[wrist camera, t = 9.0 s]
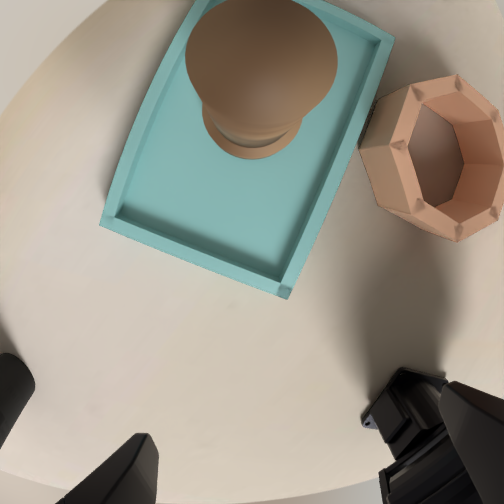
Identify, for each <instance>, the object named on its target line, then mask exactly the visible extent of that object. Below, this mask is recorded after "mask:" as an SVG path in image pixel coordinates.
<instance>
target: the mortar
mask: <svg viewBox="0 0 504 504" xmlns="http://www.w3.org/2000/svg"><path fill="white" fill-rule="evenodd" d="M422 103H423V104H424V105H426V106H427V107H428V108H430V109H431V110H433V111H434V112H436V113H437V114H438V115H440V116H441V117H443V118H444V119H445V120H447V121H448V122H449V123H451V124H452V125H453V128H454V131H455V134H456V137H457V140H458V144H459V147H460V150H461V154H462V157H463V161H464V166H463V169H462V172H461V175H460V178H459V181H458V184H457V187H456V190H455V193H454V195H453V198H452V200H450V201H447V202H445V203H443V204H441V205H439V206H436V207H433V206H431V205H429V204H428V203H426V202H425V201H424V200H423V196H422V193H421V189H420V186H419V182H418V179H417V176H416V172H415V169H414V166H413V163H412V160H411V157H410V154H409V151H408V148H407V146H408V144H409V141H410V138H411V135H412V132H413V129H414V126H415V124H416V121H417V118H418V115H419V112H420V108H421V105H422ZM359 152H360V154H361V157H362V160H363V163H364V165H365V168H366V171H367V174H368V177H369V180H370V183H371V186H372V189H373V192H374V195H375V198H376V201H377V204H378V206H380V207H382V208H384V209H386V210H388V211H389V212H391V213H393V214H395V215H397V216H399V217H401V218H402V219H404V220H406V221H408V222H410V223H411V224H413V225H415V226H417V227H418V228H420V229H422V230H425V231H427V232H430V233H433V234H435V235H438V236H441V237H443V238H446V239H449V240H451V241H454V242H456V243H458V242H459V241H461V240H463V239H465V238H467V237H468V236H470V235H472V234H474V233H476V232H478V231H479V230H481V229H483V228H485V227H486V226H488V225H490V224H492V223H494V222H495V221H498V218H499V215H500V212H501V209H502V206H503V203H504V127H503V124H502V120H501V117H500V114H499V110H498V109H497V108H495V107H494V106H493V105H492V104H491V103H490V102H489V101H488V100H487V99H486V98H485V97H483V96H482V95H481V94H480V93H479V92H478V91H477V90H475V89H474V88H473V87H472V86H471V85H469V84H468V83H467V82H466V81H465V80H463V79H462V78H461V77H460V76H458V74H456V75H452V76H447V77H442V78H437V79H432V80H428V81H423V82H419V83H414V84H409V85H407V86H405V87H403V88H401V89H399V90H397V91H395V92H392V93H390V94H388V95H386V96H384V97H382V98H380V99H378V101H377V104H376V107H375V109H374V112H373V115H372V117H371V120H370V123H369V125H368V128H367V130H366V133H365V135H364V138H363V140H362V143H361V146H360V148H359Z"/></svg>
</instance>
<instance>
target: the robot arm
mask: <svg viewBox="0 0 504 504" xmlns="http://www.w3.org/2000/svg"><path fill="white" fill-rule="evenodd" d="M402 373H403V374H402ZM366 422H367V423H366ZM361 424H362V426H363V427H365V428H371V429H378V430H379V432H380V434H381V436H382V438H383V440H384V442H385V443H386V444H388V446H389V449H390V451H391V453H392V455H393V457H394V459H395V460H396V461H395V462H394V463H393V464H391V465H390V466H388V467H387V468H386V469H385V468H384V469H382V470H381V471H380V472H378V473H379V479H380V481H379V482H380V488H381V494H382V501H383V504H504V400H503V399H501V398H498V397H496V396H493V395H490V394H488V393H485V392H482V391H480V390H477V389H475V388H472V387H470V386H467V385H465V384H462V383H460V382H457V381H452V382H450V383H448V380H447V379H446V378H443V377H439V376H435V375H431V374H427V373H423V372H419V371H415V370H411V369H408V368H403V367H402V368H400V369H398V370H397V372H396V373H395V375H394V376H393V378H392V379H391V381H390V382H389V384H388V385H387V387H386V388H385V389H384V391H383V392H382V394H381V395H380V397H379V398H378V399H377V401H376V402H375V404H374V405H373V406H372V408H371V409H370V410H369V412H368V413H367V414H366V416H365V417H364V418H363V420H362V421H361ZM158 461H159V454H158V450H157V448H156V446H155V444H154V442H153V440H152V437H151V436H150V434H148V433H135V434H134V435H133V436H132V437H131V438H130V439H129V440H127V441H126V442H125V443H124V444H123V445H122V446H121V447H120V448H119V449H118V450H117V451H115V452H114V453H113V454H112V455H111V456H110V457H109V458H108V459H107V460H105V461H104V462H103V463H102V464H101V465H100V466H99V467H98V468H96V469H95V470H94V471H93V472H92V473H91V474H90V475H88V476H87V477H86V478H85V479H84V480H83V481H82V482H80V483H79V484H78V485H77V486H76V487H75V488H73V489H72V490H71V491H70V492H69V493H68V494H66V495H65V496H64V498H62V499H60V500H59V501H58V502H57V503H55V504H155V502H156V494H157V477H158Z"/></svg>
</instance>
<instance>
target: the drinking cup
mask: <svg viewBox="0 0 504 504" xmlns="http://www.w3.org/2000/svg"><path fill="white" fill-rule="evenodd" d="M34 390H35V382H34V379H33V377H32V375H31V373H30V371H29V370H28V368H27V367H26V366H25V365H24V363H23V362H22V361H21V360H19V359H18V358H17V357H15V356H14V355H12V354H9V353H3V354H1V355H0V449H1V447H2V445H3V443H4V441H5V440H6V438H7V436H8V434H9V433H10V431H11V429H12V427H13V426H14V424H15V422H16V420H17V419H18V417H19V415H20V414H21V412H22V410H23V409H24V407H25V405H26V404H27V402H28V400H29V399H30V397H31V396H32V394H33V392H34Z"/></svg>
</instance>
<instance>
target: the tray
mask: <svg viewBox="0 0 504 504" xmlns="http://www.w3.org/2000/svg"><path fill="white" fill-rule="evenodd" d="M224 1H226V0H196V1H195V3H194V4H193V6H192V8H191V9H190V11H189V13H188V14H187V16H186V18H185V19H184V21H183V23H182V25H181V26H180V28H179V30H178V32H177V34H176V35H175V37H174V39H173V41H172V43H171V45H170V47H169V48H168V50H167V52H166V54H165V56H164V58H163V60H162V62H161V64H160V66H159V68H158V70H157V72H156V74H155V76H154V79H153V81H152V83H151V85H150V87H149V89H148V91H147V94H146V96H145V98H144V100H143V103H142V105H141V107H140V110H139V112H138V114H137V117H136V119H135V122H134V124H133V126H132V129H131V131H130V134H129V137H128V139H127V142H126V144H125V147H124V150H123V152H122V155H121V158H120V161H119V164H118V166H117V169H116V172H115V175H114V178H113V181H112V184H111V187H110V190H109V193H108V197H107V200H106V203H105V206H104V210H103V213H102V217H101V220H100V224H99V225H100V226H102V227H104V228H107V229H109V230H112V231H114V232H116V233H119V234H121V235H123V236H126V237H128V238H131V239H133V240H136V241H138V242H140V243H143V244H145V245H148V246H150V247H153V248H155V249H157V250H160V251H162V252H165V253H167V254H170V255H172V256H175V257H177V258H180V259H182V260H185V261H187V262H190V263H192V264H195V265H197V266H200V267H203V268H205V269H208V270H210V271H213V272H215V273H218V274H221V275H223V276H226V277H228V278H231V279H233V280H236V281H239V282H241V283H244V284H247V285H249V286H252V287H254V288H257V289H260V290H262V291H265V292H268V293H270V294H273V295H276V296H279V297H281V298H284V299H287V300H288V298H289V295H290V293H291V291H292V289H293V287H294V285H295V283H296V281H297V279H298V276H299V274H300V272H301V270H302V268H303V266H304V264H305V261H306V259H307V257H308V255H309V253H310V250H311V248H312V246H313V244H314V242H315V239H316V237H317V235H318V233H319V230H320V228H321V226H322V224H323V221H324V219H325V217H326V215H327V212H328V210H329V208H330V205H331V203H332V201H333V198H334V196H335V194H336V191H337V189H338V187H339V184H340V182H341V180H342V177H343V175H344V172H345V170H346V168H347V165H348V163H349V160H350V158H351V155H352V153H353V150H354V148H355V145H356V143H357V140H358V138H359V135H360V133H361V130H362V128H363V125H364V123H365V120H366V118H367V115H368V112H369V110H370V107H371V104H372V102H373V99H374V97H375V94H376V91H377V88H378V86H379V83H380V80H381V78H382V75H383V72H384V69H385V66H386V64H387V61H388V58H389V55H390V52H391V49H392V47H393V44H394V41H395V37H394V36H392V35H390V34H389V33H387V32H385V31H383V30H382V29H380V28H378V27H376V26H374V25H373V24H371V23H369V22H367V21H365V20H363V19H361V18H359V17H357V16H355V15H353V14H351V13H349V12H347V11H345V10H343V9H341V8H339V7H337V6H334V5H332V4H330V3H328V2H325V1H323V0H292V1H295V2H297V3H299V4H301V5H303V6H304V7H306V8H307V9H309V10H310V11H312V12H313V13H314V14H315V15H316V16H317V17H318V18H319V19H320V20H321V21H322V22H323V23H324V24H325V26H326V27H327V29H328V30H329V32H330V33H331V35H332V38H333V40H334V42H335V46H336V49H337V56H338V67H337V73H336V77H335V80H334V83H333V85H332V87H331V89H330V91H329V92H328V93H327V95H326V96H325V98H324V99H323V100H322V101H321V102H320V103H319V104H318V105H317V106H316V107H314V108H313V109H312V110H311V111H310V112H309V113H308V114H307V115H306V116H304V117H303V119H302V123H301V126H300V129H299V131H298V133H297V135H296V136H295V137H294V139H293V140H292V141H291V142H290V143H289V144H288V145H287V146H286V147H285V148H283V149H282V150H280V151H278V152H277V153H275V154H273V155H271V156H269V157H266V158H262V159H255V160H249V159H241V158H238V157H235V156H232V155H230V154H228V153H227V152H225V151H224V150H222V149H221V148H220V147H219V146H218V145H217V144H216V143H215V142H214V140H213V139H212V138H211V137H210V135H209V134H208V132H207V130H206V128H205V125H204V122H203V117H202V101H201V99H200V98H199V96H198V94H197V92H196V91H195V89H194V87H193V85H192V83H191V81H190V79H189V76H188V73H187V70H186V64H185V51H186V45H187V41H188V38H189V36H190V34H191V31H192V29H193V28H194V26H195V25H196V23H197V22H198V21H199V20H200V19H201V17H202V16H203V15H204V14H206V13H207V12H208V11H209V10H210V9H212V8H213V7H215V6H216V5H218V4H220V3H222V2H224Z"/></svg>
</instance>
